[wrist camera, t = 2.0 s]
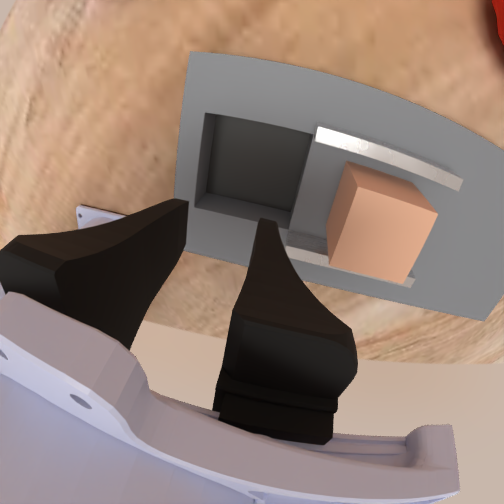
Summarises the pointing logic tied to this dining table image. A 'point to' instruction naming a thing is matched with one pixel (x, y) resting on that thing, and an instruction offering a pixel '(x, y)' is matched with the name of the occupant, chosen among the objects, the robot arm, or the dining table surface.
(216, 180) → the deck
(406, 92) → the dining table surface
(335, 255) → the block
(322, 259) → the rails
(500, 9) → the tomato
